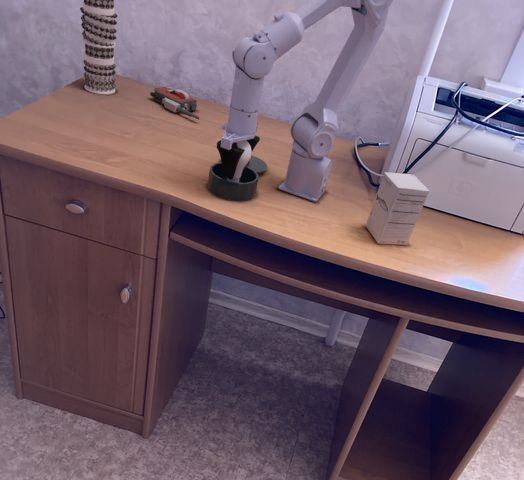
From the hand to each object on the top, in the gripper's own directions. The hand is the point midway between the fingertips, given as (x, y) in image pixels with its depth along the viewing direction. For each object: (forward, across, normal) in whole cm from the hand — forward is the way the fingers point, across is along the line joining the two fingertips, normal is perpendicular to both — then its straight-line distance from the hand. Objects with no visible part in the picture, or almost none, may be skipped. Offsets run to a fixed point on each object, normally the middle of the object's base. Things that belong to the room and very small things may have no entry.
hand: (234, 172), depth 113 cm
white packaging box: (+4, -4, +35) cm, 36 cm away
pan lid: (+3, -14, -3) cm, 15 cm away
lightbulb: (+4, 0, 0) cm, 4 cm away
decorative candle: (+4, -32, -56) cm, 65 cm away
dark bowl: (+4, 0, 0) cm, 4 cm away
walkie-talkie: (+4, -37, -33) cm, 50 cm away
